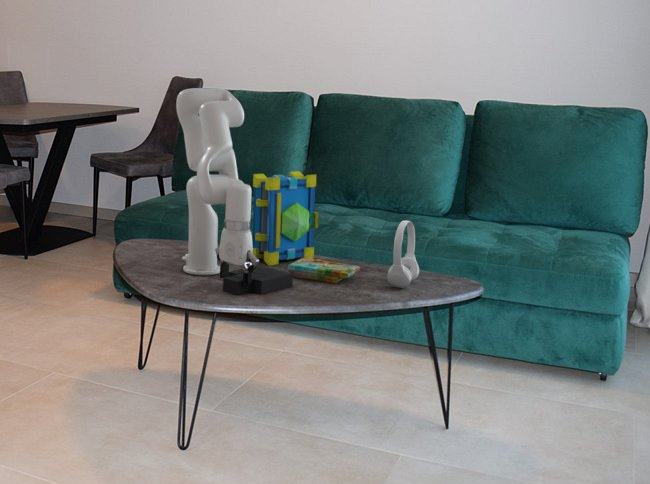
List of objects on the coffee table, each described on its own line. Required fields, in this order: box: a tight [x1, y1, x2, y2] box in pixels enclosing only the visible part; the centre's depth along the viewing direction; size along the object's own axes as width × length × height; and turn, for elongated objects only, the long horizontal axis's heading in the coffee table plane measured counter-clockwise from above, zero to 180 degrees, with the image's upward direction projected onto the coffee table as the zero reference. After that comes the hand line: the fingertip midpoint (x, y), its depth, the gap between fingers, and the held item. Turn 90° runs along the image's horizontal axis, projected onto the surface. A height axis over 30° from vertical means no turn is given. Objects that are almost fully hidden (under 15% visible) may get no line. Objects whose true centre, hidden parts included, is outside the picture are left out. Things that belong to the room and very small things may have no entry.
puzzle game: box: [287, 257, 361, 284], centre depth 262 cm, size 12×5×20 cm
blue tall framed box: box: [252, 170, 320, 267], centre depth 285 cm, size 14×23×30 cm, turn 122°
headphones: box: [386, 220, 420, 289], centre depth 254 cm, size 7×18×20 cm, turn 151°
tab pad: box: [222, 272, 265, 296], centre depth 246 cm, size 12×6×4 cm, turn 132°
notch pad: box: [228, 264, 294, 295], centre depth 251 cm, size 14×14×4 cm
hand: (235, 281), depth 245 cm, fingers open, 9 cm apart
